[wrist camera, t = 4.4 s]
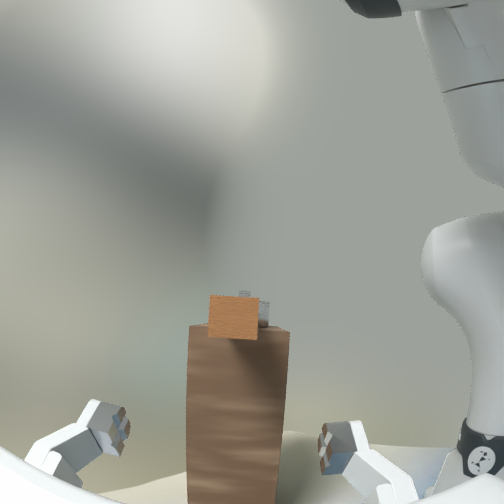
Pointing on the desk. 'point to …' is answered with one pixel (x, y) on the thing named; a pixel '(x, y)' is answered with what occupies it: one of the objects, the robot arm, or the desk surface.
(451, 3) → the robot arm
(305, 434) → the desk surface
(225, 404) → the pedestal
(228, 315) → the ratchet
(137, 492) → the desk surface
